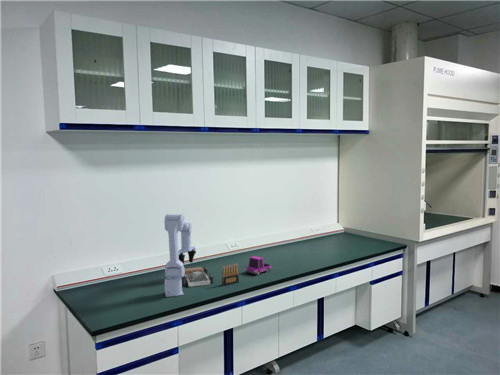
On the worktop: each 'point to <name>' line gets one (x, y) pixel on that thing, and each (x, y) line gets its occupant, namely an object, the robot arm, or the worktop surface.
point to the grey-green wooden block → (197, 276)
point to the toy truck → (257, 265)
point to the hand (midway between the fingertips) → (186, 263)
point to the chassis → (205, 281)
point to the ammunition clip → (230, 275)
